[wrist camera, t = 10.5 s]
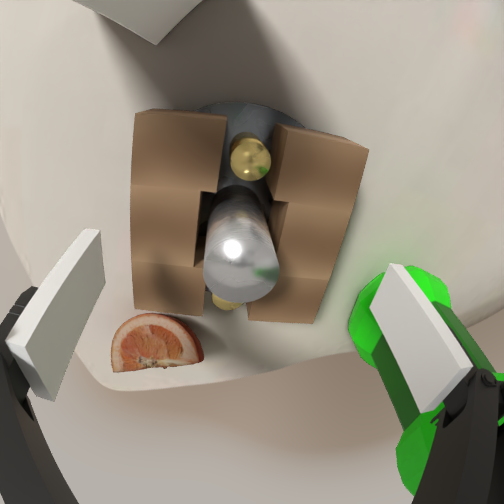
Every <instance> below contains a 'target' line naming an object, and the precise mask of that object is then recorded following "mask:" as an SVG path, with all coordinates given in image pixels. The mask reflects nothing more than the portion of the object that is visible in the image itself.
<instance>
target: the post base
mask: <svg viewBox="0 0 504 504" xmlns="http://www.w3.org/2000/svg"><path fill="white" fill-rule="evenodd" d="M194 112H205V113H214V114H222V115H227V123H226V130H225V136H224V142H223V149H222V156H221V163H220V170H219V177H218V184H217V191H216V193H215V192H206V191H203V196H202V205H201V214H200V223H199V233H198V236H206V246H205V256H204V266H203V277H204V281H205V283H206V285H205V291H209V292H212V300H213V303H214V304H215V305H216V306H217V307H218V308H220V309H223V310H233V309H236V308H238V307H240V306H241V305H242V304H243V303H246V302H251V301H255V300H257V299H259V298H261V297H263V296H265V295H266V294H267V293H269V292H270V291H271V290H272V288H273V287H274V286H275V284H276V282H277V280H278V277H279V263H278V260H277V256H276V253H275V249H274V246H273V243H272V239H271V236H270V232H269V229H268V221H269V217H270V212H271V207H272V202H273V196H272V194H271V192H270V189H269V187H268V185H267V182H266V180H265V175H266V173H267V172H268V171H269V169H270V166H271V157H270V149H271V144H272V139H273V134H274V129H275V124H276V123H280V124H286V125H291V126H296V127H301V128H305V127H304V126H302V125H301V124H300V123H298V122H297V121H296V120H294V119H292V118H291V117H289V116H287V115H285V114H284V113H282V112H279V111H276V110H274V109H271V108H269V107H266V106H262V105H258V104H253V103H244V102H226V103H219V104H214V105H209V106H206V107H203V108H200V109H197V110H195V111H194Z"/></svg>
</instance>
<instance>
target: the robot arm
mask: <svg viewBox="0 0 504 504" xmlns="http://www.w3.org/2000/svg"><path fill="white" fill-rule="evenodd" d="M105 283H106V282H105V274H104V266H103V257H102V246H101V234H100V230H94V229H84V230H83V231H82V232H81V233H80V235H79V236H78V237H77V238H76V240H75V241H74V242H73V243H72V244H71V246H70V247H69V248H68V249H67V251H66V252H65V253H64V255H63V256H62V257H61V258H60V260H59V261H58V262H57V264H56V265H55V266H54V268H53V269H52V270H51V272H50V273H49V274H48V276H47V277H46V278H45V280H44V281H43V283H42V284H41V285H40V287H39V288H37V287H32V286H31V287H30V288H29V289H27V290H26V291H25V292H23V293H22V294H21V295H20V297H19V298H18V299H17V301H16V302H15V305H14V306H13V307H12V308H11V309H10V311H9V313H8V314H7V316H6V317H5V319H4V320H3V322H2V323H1V325H0V493H1V495H2V498H3V500H4V502H5V504H79V503H78V502H77V500H76V498H75V496H74V495H73V493H72V491H71V490H70V488H69V486H68V484H67V483H66V481H65V479H64V477H63V475H62V473H61V472H60V470H59V468H58V466H57V464H56V462H55V460H54V458H53V456H52V454H51V451H50V449H49V447H48V445H47V443H46V440H45V438H44V436H43V433H42V431H41V429H40V426H39V424H38V421H37V419H36V416H35V413H34V411H33V408H32V405H31V402H30V400H29V398H28V396H27V392H28V390H29V388H30V387H31V389H32V390H33V392H34V393H35V395H36V396H38V397H41V398H44V399H47V400H50V401H53V402H54V401H55V399H56V396H57V393H58V390H59V388H60V385H61V382H62V380H63V377H64V374H65V372H66V369H67V367H68V364H69V362H70V359H71V357H72V354H73V352H74V350H75V347H76V345H77V343H78V340H79V338H80V336H81V333H82V331H83V329H84V327H85V325H86V322H87V320H88V318H89V316H90V314H91V312H92V310H93V307H94V305H95V303H96V301H97V299H98V297H99V295H100V293H101V291H102V289H103V287H104V285H105ZM369 308H370V310H371V311H372V313H373V315H374V317H375V319H376V321H377V323H378V325H379V327H380V329H381V331H382V333H383V335H384V337H385V339H386V341H387V343H388V345H389V347H390V349H391V351H392V353H393V355H394V357H395V359H396V361H397V363H398V365H399V367H400V369H401V371H402V373H403V375H404V378H405V380H406V382H407V384H408V386H409V388H410V391H411V393H412V395H413V397H414V400H415V402H416V404H417V406H418V409H419V411H420V413H425V412H429V411H433V410H434V409H435V408H436V407H437V406H438V405H439V404H440V403H441V402H442V401H443V403H444V405H445V407H444V408H443V409H442V410H441V411H440V412H439V413H438V414H437V415H436V416H435V417H434V418H433V419H432V420H431V422H430V423H431V424H432V423H433V422H434V421H435V420H436V419H439V420H438V422H437V423H436V424H435V426H437V428H436V432H435V436H434V439H433V443H432V446H431V450H430V453H429V457H428V460H427V463H426V466H425V469H424V472H423V475H422V478H421V480H420V483H419V486H418V489H417V491H416V494H415V496H414V499H413V501H412V504H504V423H503V424H502V425H500V426H499V424H498V421H499V420H500V419H501V418H502V417H503V416H504V381H498V380H497V379H496V377H495V376H494V375H493V374H492V372H490V371H489V370H487V369H484V368H481V369H478V368H477V366H476V365H475V363H474V362H473V360H472V358H471V357H470V355H469V354H468V352H467V350H466V349H465V347H464V346H462V343H461V341H460V340H459V339H458V337H457V335H456V334H455V332H454V331H453V329H452V328H451V327H450V326H449V325H447V324H446V323H445V322H444V321H443V319H442V318H441V316H440V315H439V313H438V312H437V311H436V309H435V308H434V306H433V305H432V304H431V302H430V301H429V300H428V298H427V297H426V295H425V294H424V293H423V291H422V290H421V289H420V287H419V286H418V285H417V283H416V282H415V281H414V280H413V278H412V277H411V276H410V274H409V273H408V272H407V271H406V269H405V268H404V267H403V265H401V264H393V263H389V266H388V268H387V270H386V273H385V275H384V277H383V279H382V282H381V284H380V286H379V288H378V290H377V292H376V295H375V297H374V299H373V301H372V303H371V305H370V307H369Z"/></svg>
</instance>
